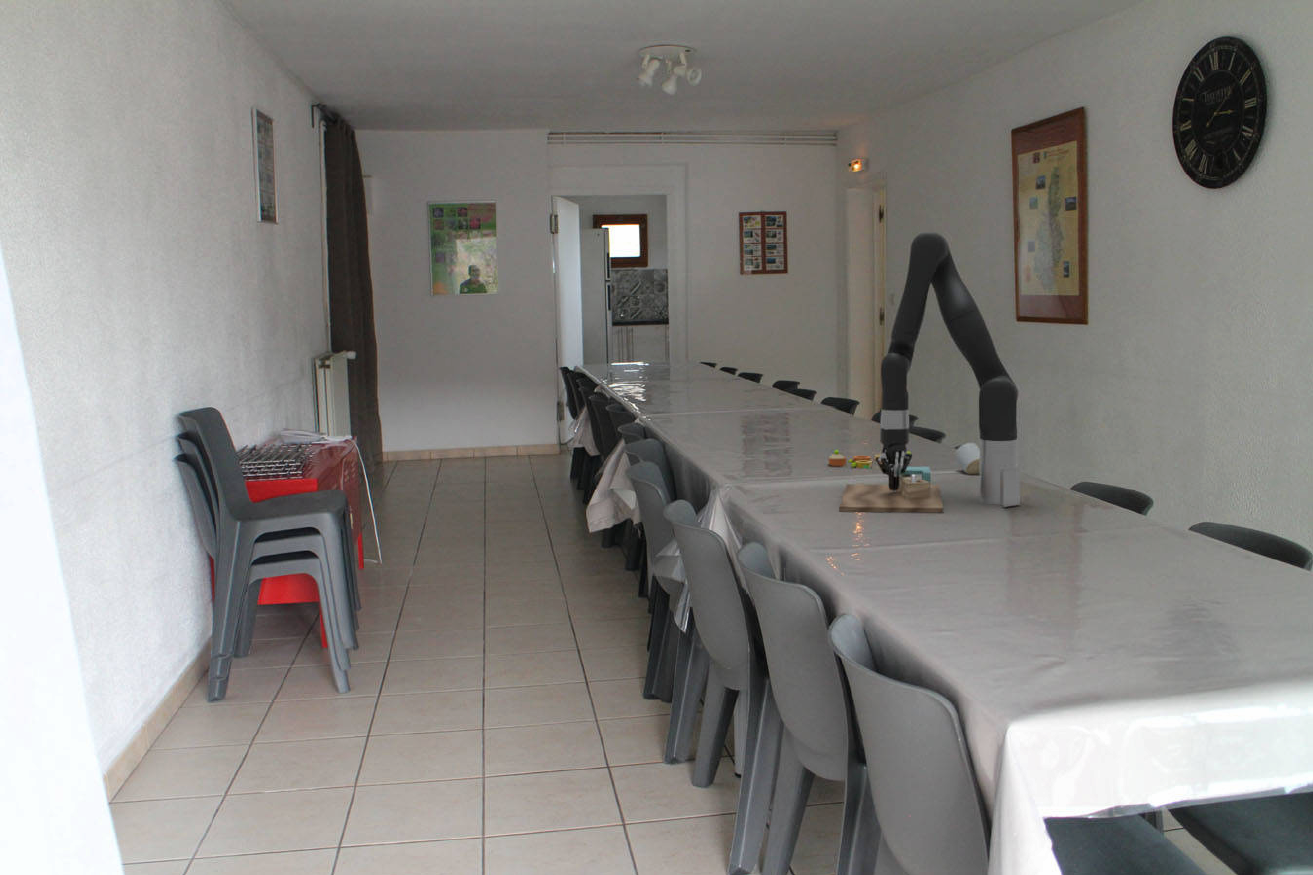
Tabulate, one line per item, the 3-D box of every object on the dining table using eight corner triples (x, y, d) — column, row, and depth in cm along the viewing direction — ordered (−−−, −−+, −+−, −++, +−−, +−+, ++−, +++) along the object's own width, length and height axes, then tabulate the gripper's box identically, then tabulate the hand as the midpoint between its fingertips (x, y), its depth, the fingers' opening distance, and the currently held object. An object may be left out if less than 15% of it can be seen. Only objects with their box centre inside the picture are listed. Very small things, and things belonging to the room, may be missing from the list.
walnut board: (938, 489, 292) (938, 485, 292) (943, 512, 257) (943, 508, 257) (847, 488, 298) (847, 484, 298) (839, 511, 263) (839, 506, 263)
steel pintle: (916, 496, 275) (916, 474, 274) (916, 497, 273) (916, 475, 272) (910, 496, 275) (910, 474, 274) (910, 497, 273) (910, 475, 273)
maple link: (930, 498, 272) (930, 483, 271) (907, 498, 272) (907, 483, 271) (911, 486, 290) (911, 472, 290) (890, 487, 290) (890, 473, 290)
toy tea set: (887, 464, 347) (887, 435, 346) (916, 469, 333) (916, 440, 332) (820, 470, 337) (820, 441, 336) (847, 476, 322) (847, 446, 321)
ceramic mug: (968, 481, 314) (965, 464, 309) (956, 464, 320) (953, 447, 315) (1000, 468, 314) (998, 450, 309) (987, 451, 320) (985, 434, 315)
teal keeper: (929, 486, 290) (929, 466, 289) (930, 493, 279) (930, 472, 278) (900, 486, 292) (900, 466, 291) (900, 493, 281) (900, 472, 280)
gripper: (899, 423, 286) (898, 485, 288) (867, 427, 277) (867, 490, 279) (921, 425, 280) (920, 488, 282) (890, 429, 272) (889, 494, 274)
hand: (893, 489), depth 281 cm, fingers closed
